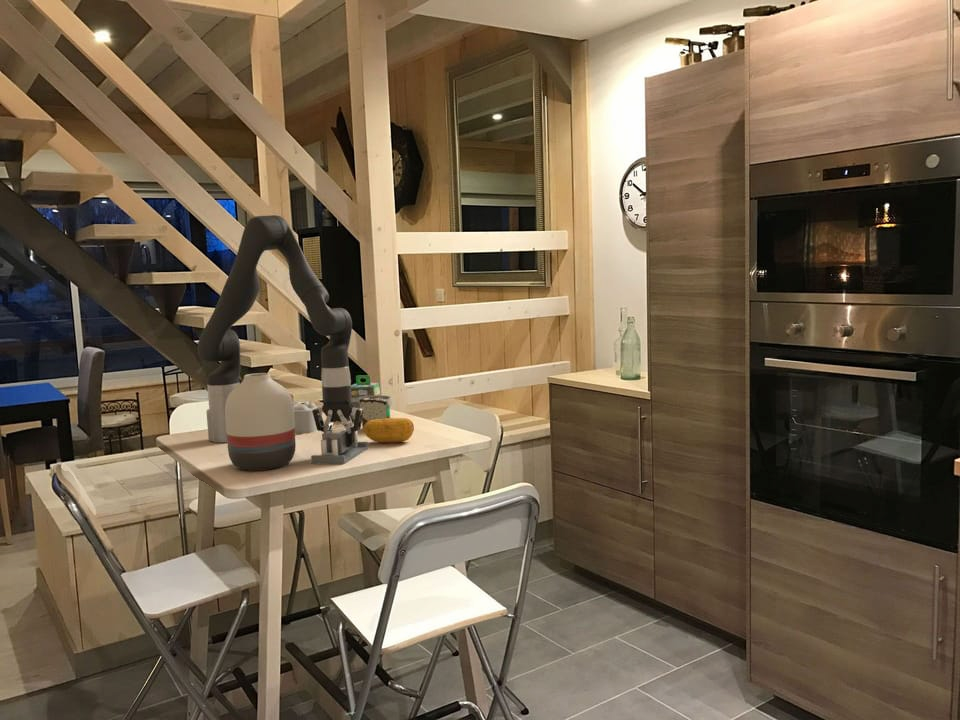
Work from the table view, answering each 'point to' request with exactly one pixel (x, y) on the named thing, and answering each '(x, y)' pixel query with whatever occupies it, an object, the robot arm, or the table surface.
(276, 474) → the table surface
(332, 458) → the grey pegged block
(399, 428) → the potato
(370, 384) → the chalk box
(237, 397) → the vase
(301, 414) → the lumpy-topped squat cylinder
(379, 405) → the food container
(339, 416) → the robot arm
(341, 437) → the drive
